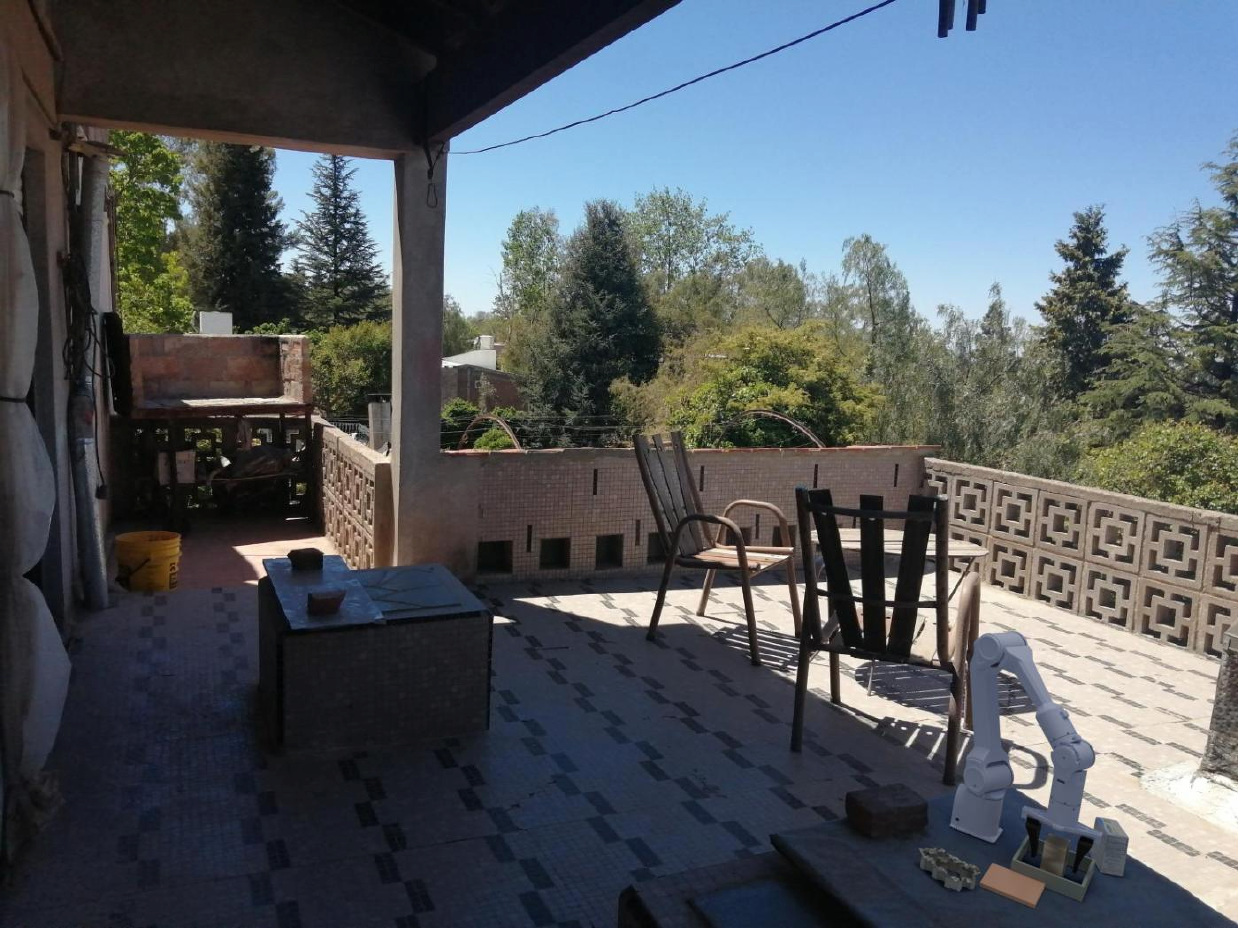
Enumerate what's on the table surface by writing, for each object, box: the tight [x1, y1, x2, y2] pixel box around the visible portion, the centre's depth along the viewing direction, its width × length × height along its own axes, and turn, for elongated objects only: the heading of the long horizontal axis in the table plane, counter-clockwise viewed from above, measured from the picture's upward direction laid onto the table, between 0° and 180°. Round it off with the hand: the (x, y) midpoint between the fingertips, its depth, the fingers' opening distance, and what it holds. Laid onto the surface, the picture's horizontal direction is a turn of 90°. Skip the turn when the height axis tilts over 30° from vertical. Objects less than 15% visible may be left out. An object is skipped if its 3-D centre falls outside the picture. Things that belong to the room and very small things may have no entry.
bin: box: [1009, 834, 1096, 903], centre depth 186 cm, size 13×14×3 cm
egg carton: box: [918, 847, 982, 892], centre depth 180 cm, size 11×8×4 cm
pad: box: [979, 863, 1046, 909], centre depth 179 cm, size 10×10×1 cm
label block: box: [1039, 832, 1072, 878], centre depth 186 cm, size 4×5×7 cm
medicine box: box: [1088, 816, 1130, 878], centre depth 192 cm, size 8×4×9 cm, turn 168°
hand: (1054, 863), depth 186 cm, fingers open, 7 cm apart
